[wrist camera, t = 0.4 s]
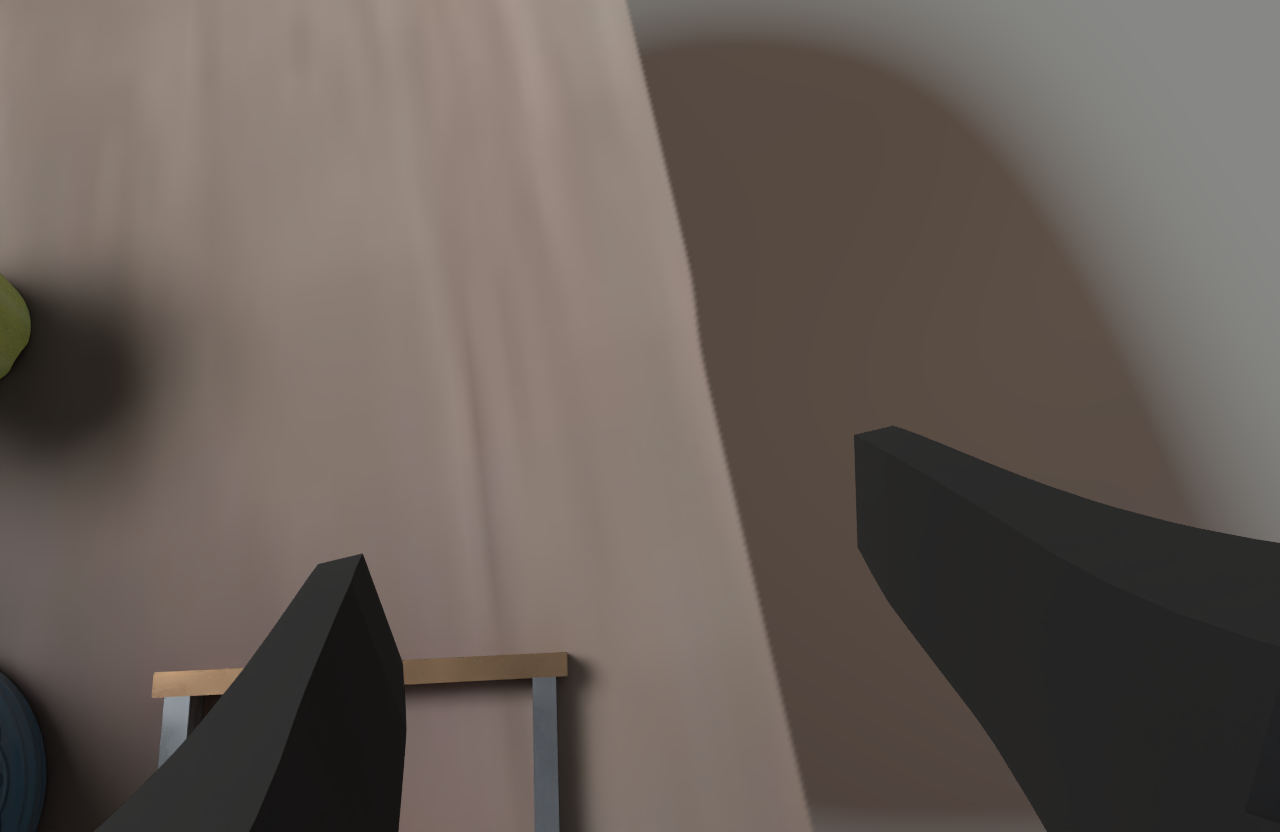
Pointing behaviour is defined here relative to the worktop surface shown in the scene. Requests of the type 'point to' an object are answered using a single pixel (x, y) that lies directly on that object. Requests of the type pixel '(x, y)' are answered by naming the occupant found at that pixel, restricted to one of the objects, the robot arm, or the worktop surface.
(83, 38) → the worktop surface
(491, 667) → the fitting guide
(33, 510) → the worktop surface
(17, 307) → the plant pot
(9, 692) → the canister
